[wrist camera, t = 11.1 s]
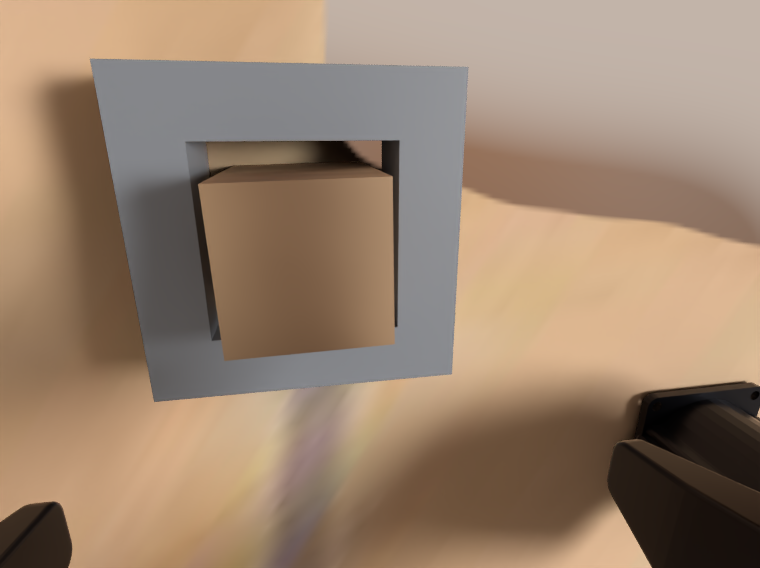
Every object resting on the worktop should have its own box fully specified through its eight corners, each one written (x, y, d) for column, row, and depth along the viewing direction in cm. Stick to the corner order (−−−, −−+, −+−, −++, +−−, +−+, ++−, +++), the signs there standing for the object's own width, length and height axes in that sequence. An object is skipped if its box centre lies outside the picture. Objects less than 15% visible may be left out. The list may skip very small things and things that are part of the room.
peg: (359, 161, 16) (392, 176, 11) (363, 277, 18) (394, 344, 12) (233, 165, 16) (198, 183, 10) (248, 285, 17) (224, 361, 11)
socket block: (437, 78, 16) (468, 66, 13) (428, 338, 19) (451, 374, 16) (131, 73, 14) (89, 59, 11) (177, 358, 17) (154, 402, 15)
